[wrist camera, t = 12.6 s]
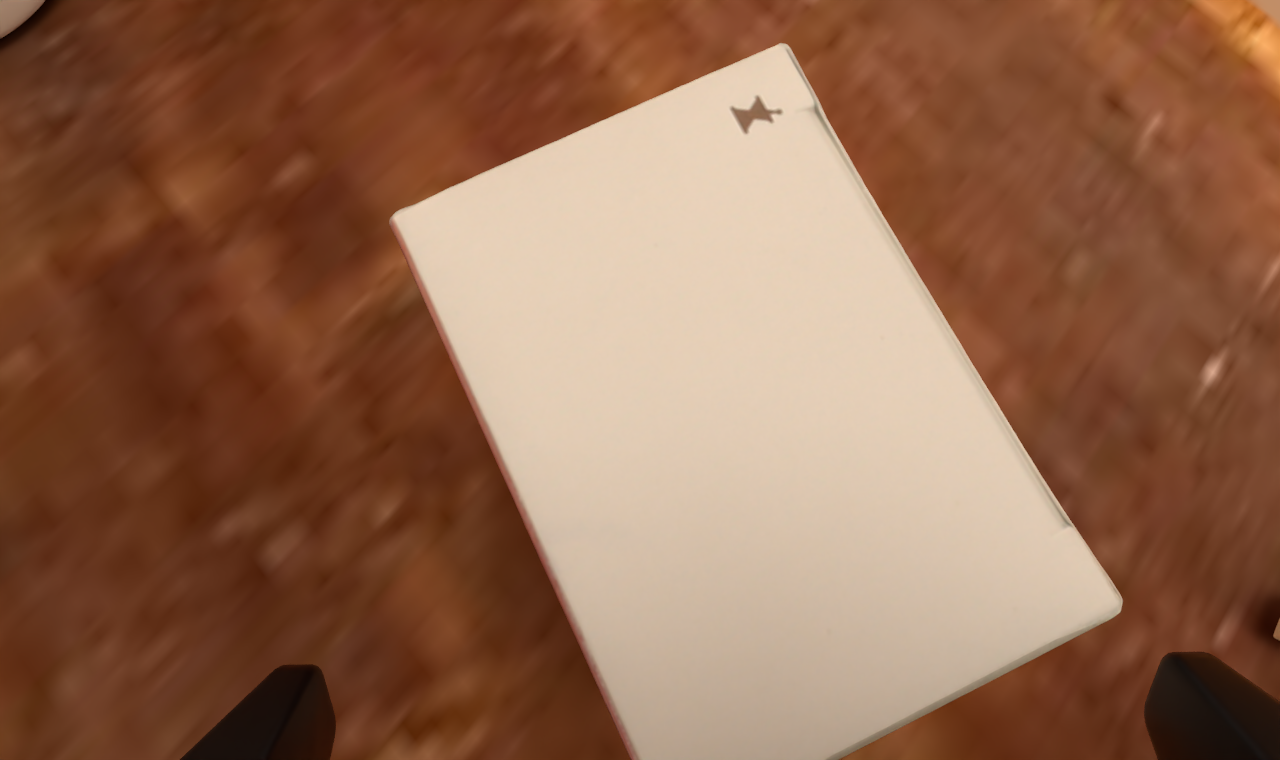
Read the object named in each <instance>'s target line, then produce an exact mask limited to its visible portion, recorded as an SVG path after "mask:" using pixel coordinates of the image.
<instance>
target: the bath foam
mask: <svg viewBox="0 0 1280 760" xmlns="http://www.w3.org/2000/svg"><path fill="white" fill-rule="evenodd" d="M44 2H45V0H0V39H1V38H2V37H4V36H6V35H7V34H9V33H10V32H12V31H13V30H15V29H16V28H17V27H19V26H20V25H21V24H23V23H24V22H25V21H26V20H27V19H28V18H30V17H31V16H32V15H33V14H34V13H35V12H36V11H37V10H38V9H39V7H40V6H41V5H42V4H43V3H44Z"/></svg>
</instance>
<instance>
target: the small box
mask: <svg viewBox="0 0 1280 760" xmlns="http://www.w3.org/2000/svg"><path fill="white" fill-rule="evenodd" d="M390 227H391V229H392V231H393V233H394V235H395V237H396V239H397V241H398V243H399V246H400V248H401V250H402V252H403V255H404V257H405V259H406V261H407V264H408V266H409V268H410V270H411V273H412V275H413V277H414V279H415V282H416V284H417V286H418V288H419V290H420V293H421V295H422V297H423V299H424V301H425V304H426V306H427V308H428V310H429V312H430V315H431V317H432V319H433V321H434V323H435V326H436V328H437V330H438V332H439V335H440V337H441V339H442V341H443V344H444V346H445V348H446V350H447V353H448V355H449V357H450V359H451V362H452V364H453V366H454V368H455V371H456V373H457V375H458V377H459V380H460V382H461V384H462V386H463V389H464V391H465V393H466V395H467V398H468V400H469V402H470V404H471V406H472V409H473V411H474V413H475V415H476V417H477V420H478V422H479V424H480V426H481V428H482V431H483V433H484V435H485V437H486V440H487V442H488V444H489V446H490V448H491V451H492V453H493V455H494V457H495V459H496V462H497V464H498V466H499V468H500V470H501V473H502V475H503V477H504V479H505V482H506V484H507V486H508V488H509V491H510V493H511V495H512V497H513V499H514V502H515V504H516V506H517V508H518V511H519V513H520V515H521V517H522V520H523V522H524V524H525V527H526V529H527V531H528V533H529V536H530V538H531V540H532V542H533V545H534V547H535V549H536V552H537V554H538V556H539V558H540V561H541V563H542V565H543V567H544V569H545V571H546V574H547V576H548V578H549V580H550V582H551V584H552V587H553V589H554V591H555V593H556V595H557V598H558V600H559V602H560V604H561V606H562V608H563V611H564V613H565V615H566V617H567V619H568V621H569V624H570V626H571V628H572V630H573V632H574V634H575V637H576V639H577V641H578V643H579V646H580V648H581V650H582V652H583V654H584V657H585V659H586V661H587V663H588V666H589V668H590V670H591V672H592V675H593V677H594V679H595V681H596V683H597V686H598V688H599V690H600V692H601V695H602V697H603V699H604V701H605V704H606V706H607V708H608V710H609V712H610V715H611V717H612V719H613V721H614V723H615V726H616V728H617V730H618V732H619V734H620V737H621V739H622V741H623V743H624V745H625V748H626V750H627V752H628V754H629V757H630V759H631V760H839V759H841V758H843V757H845V756H847V755H849V754H850V753H852V752H854V751H856V750H858V749H860V748H862V747H864V746H866V745H868V744H870V743H872V742H874V741H876V740H878V739H879V738H881V737H883V736H885V735H887V734H889V733H891V732H893V731H895V730H897V729H899V728H901V727H903V726H905V725H907V724H909V723H910V722H912V721H914V720H916V719H918V718H920V717H922V716H924V715H926V714H928V713H930V712H932V711H934V710H936V709H938V708H940V707H941V706H943V705H945V704H947V703H949V702H951V701H953V700H955V699H957V698H959V697H961V696H963V695H965V694H967V693H969V692H971V691H973V690H975V689H976V688H978V687H980V686H982V685H984V684H986V683H988V682H990V681H992V680H994V679H996V678H998V677H1000V676H1002V675H1004V674H1006V673H1008V672H1010V671H1012V670H1013V669H1015V668H1017V667H1019V666H1021V665H1023V664H1025V663H1027V662H1029V661H1031V660H1033V659H1035V658H1037V657H1038V656H1040V655H1042V654H1044V653H1046V652H1048V651H1050V650H1052V649H1054V648H1056V647H1058V646H1060V645H1062V644H1064V643H1065V642H1067V641H1069V640H1071V639H1073V638H1075V637H1077V636H1079V635H1081V634H1083V633H1085V632H1087V631H1089V630H1091V629H1093V628H1095V627H1096V626H1098V625H1100V624H1102V623H1104V622H1106V621H1108V620H1110V619H1112V618H1114V617H1115V616H1116V615H1117V614H1119V613H1120V612H1121V607H1122V603H1123V599H1122V597H1121V595H1120V593H1119V592H1118V590H1117V589H1116V587H1115V585H1114V584H1113V582H1112V581H1111V579H1110V578H1109V576H1108V575H1107V573H1106V572H1105V571H1104V569H1103V568H1102V566H1101V565H1100V564H1099V562H1098V561H1097V559H1096V558H1095V556H1094V555H1093V553H1092V552H1091V550H1090V548H1089V547H1088V545H1087V544H1086V542H1085V541H1084V539H1083V538H1082V536H1081V535H1080V534H1079V532H1078V531H1077V529H1076V528H1075V526H1074V525H1073V523H1072V522H1071V520H1070V519H1069V517H1068V516H1067V515H1066V513H1065V512H1064V510H1063V509H1062V507H1061V505H1060V504H1059V502H1058V501H1057V499H1056V498H1055V496H1054V495H1053V493H1052V492H1051V490H1050V488H1049V487H1048V485H1047V484H1046V482H1045V481H1044V479H1043V477H1042V476H1041V474H1040V473H1039V471H1038V469H1037V468H1036V466H1035V465H1034V463H1033V462H1032V460H1031V458H1030V457H1029V455H1028V454H1027V452H1026V450H1025V449H1024V447H1023V445H1022V444H1021V442H1020V441H1019V439H1018V437H1017V436H1016V434H1015V432H1014V431H1013V429H1012V427H1011V426H1010V424H1009V423H1008V421H1007V419H1006V418H1005V416H1004V414H1003V413H1002V411H1001V409H1000V408H999V406H998V404H997V403H996V401H995V400H994V398H993V396H992V395H991V393H990V392H989V390H988V388H987V387H986V385H985V384H984V382H983V380H982V379H981V377H980V375H979V374H978V372H977V371H976V369H975V367H974V366H973V364H972V363H971V361H970V359H969V357H968V356H967V354H966V352H965V351H964V349H963V347H962V345H961V344H960V342H959V340H958V339H957V337H956V336H955V334H954V332H953V331H952V329H951V327H950V326H949V324H948V323H947V321H946V319H945V318H944V316H943V314H942V313H941V311H940V309H939V308H938V306H937V304H936V303H935V301H934V299H933V298H932V296H931V294H930V293H929V291H928V289H927V288H926V286H925V285H924V283H923V281H922V280H921V278H920V276H919V275H918V273H917V271H916V270H915V268H914V266H913V265H912V263H911V261H910V260H909V258H908V256H907V255H906V253H905V251H904V249H903V248H902V246H901V244H900V243H899V241H898V239H897V238H896V236H895V234H894V233H893V231H892V229H891V228H890V226H889V224H888V223H887V221H886V220H885V218H884V216H883V215H882V213H881V212H880V210H879V208H878V206H877V204H876V203H875V201H874V199H873V197H872V196H871V194H870V193H869V191H868V189H867V188H866V186H865V185H864V183H863V181H862V179H861V177H860V175H859V174H858V172H857V170H856V168H855V167H854V165H853V163H852V161H851V160H850V158H849V156H848V154H847V153H846V151H845V149H844V147H843V146H842V144H841V142H840V141H839V139H838V137H837V135H836V134H835V132H834V130H833V128H832V127H831V125H830V123H829V121H828V119H827V117H826V115H825V113H824V111H823V109H822V107H821V104H820V102H819V100H818V98H817V96H816V94H815V93H814V91H813V89H812V87H811V85H810V84H809V82H808V80H807V78H806V76H805V74H804V72H803V71H802V69H801V67H800V65H799V63H798V61H797V59H796V57H795V55H794V54H793V52H792V50H791V48H790V47H789V46H788V45H787V44H783V43H780V44H778V45H776V46H774V47H771V48H769V49H767V50H764V51H762V52H760V53H757V54H755V55H753V56H750V57H748V58H746V59H743V60H741V61H739V62H736V63H734V64H732V65H730V66H727V67H725V68H722V69H720V70H717V71H715V72H713V73H710V74H708V75H705V76H703V77H701V78H699V79H696V80H694V81H692V82H690V83H688V84H685V85H683V86H681V87H678V88H676V89H674V90H671V91H669V92H667V93H664V94H662V95H660V96H657V97H655V98H653V99H651V100H648V101H646V102H644V103H642V104H639V105H637V106H635V107H632V108H630V109H628V110H626V111H623V112H621V113H619V114H616V115H614V116H612V117H610V118H607V119H605V120H603V121H600V122H598V123H596V124H594V125H591V126H589V127H587V128H585V129H582V130H580V131H578V132H576V133H573V134H571V135H569V136H567V137H564V138H562V139H560V140H558V141H555V142H553V143H551V144H548V145H546V146H544V147H541V148H539V149H537V150H534V151H532V152H530V153H527V154H525V155H523V156H521V157H518V158H516V159H514V160H511V161H509V162H507V163H504V164H502V165H500V166H498V167H495V168H493V169H491V170H488V171H486V172H484V173H481V174H479V175H477V176H475V177H473V178H471V179H468V180H466V181H464V182H462V183H459V184H457V185H455V186H453V187H450V188H448V189H446V190H444V191H442V192H440V193H438V194H436V195H433V196H431V197H429V198H427V199H425V200H423V201H421V202H419V203H417V204H414V205H411V206H409V207H406V208H403V209H401V210H399V211H397V212H395V213H394V215H393V216H392V217H391V218H390Z"/></svg>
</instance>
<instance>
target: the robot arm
mask: <svg viewBox="0 0 1280 760" xmlns="http://www.w3.org/2000/svg"><path fill="white" fill-rule="evenodd" d="M1144 718H1145V723H1146V727H1147V730H1148V733H1149V736H1150V739H1151V742H1152V744H1153V747H1154V750H1155V753H1156V755H1157V758H1158V760H1280V702H1279V701H1277V700H1276V699H1275V698H1273V697H1272V696H1270V695H1269V694H1268V693H1266V692H1265V691H1263V690H1262V689H1260V688H1259V687H1258V686H1256V685H1255V684H1253V683H1252V682H1251V681H1249V680H1248V679H1246V678H1245V677H1243V676H1242V675H1241V674H1239V673H1238V672H1236V671H1235V670H1233V669H1232V668H1231V667H1229V666H1228V665H1226V664H1225V663H1224V662H1222V661H1221V660H1219V659H1218V658H1216V657H1215V656H1213V655H1211V654H1208V653H1205V652H1172V653H1168V654H1167V655H1166V656H1164V657H1163V658H1162V660H1161V662H1160V665H1159V667H1158V670H1157V673H1156V675H1155V678H1154V681H1153V683H1152V686H1151V688H1150V691H1149V694H1148V696H1147V699H1146V702H1145V707H1144ZM335 730H336V720H335V714H334V710H333V706H332V703H331V700H330V696H329V693H328V689H327V686H326V682H325V679H324V676H323V673H322V671H321V669H320V668H319V667H318V666H316V665H313V664H310V665H283V666H280V667H278V668H277V669H275V670H274V671H273V672H272V673H271V674H269V675H268V676H267V677H266V678H265V679H264V680H263V681H262V682H261V683H260V684H259V685H258V686H257V687H256V688H255V689H254V690H253V691H252V692H251V693H249V694H248V695H247V696H246V697H245V698H244V699H243V700H242V701H241V702H240V703H239V704H238V705H237V706H236V707H235V708H234V709H233V710H232V711H231V712H230V713H228V714H227V715H226V716H225V717H224V718H223V719H222V720H221V721H220V722H219V723H218V724H217V725H216V726H215V727H214V728H213V729H212V730H211V731H210V732H208V733H207V734H206V735H205V736H204V737H203V738H202V739H201V740H200V741H199V742H198V743H197V744H196V745H195V746H194V747H193V748H192V749H191V750H190V751H188V752H187V753H186V754H185V755H184V756H183V757H182V758H181V759H180V760H330V757H331V753H332V748H333V743H334V738H335Z"/></svg>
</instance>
